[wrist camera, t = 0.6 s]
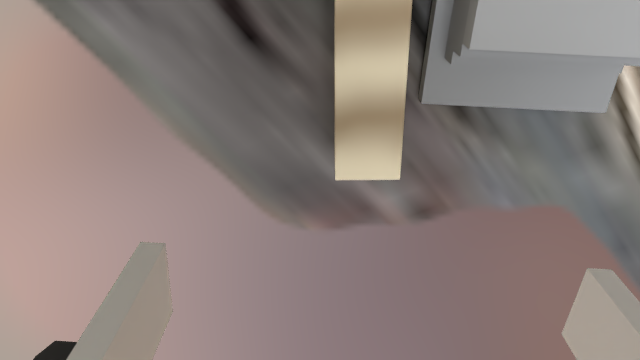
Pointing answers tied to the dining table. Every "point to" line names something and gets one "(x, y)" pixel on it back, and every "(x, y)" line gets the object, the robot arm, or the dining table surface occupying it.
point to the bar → (370, 87)
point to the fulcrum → (529, 53)
